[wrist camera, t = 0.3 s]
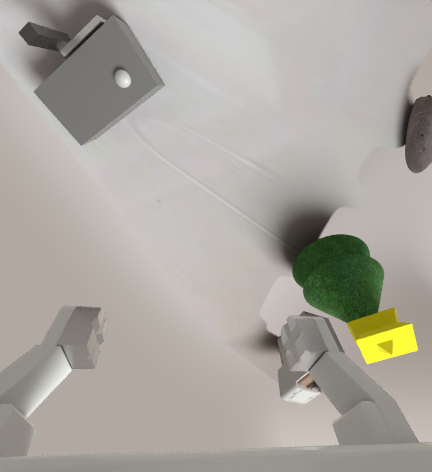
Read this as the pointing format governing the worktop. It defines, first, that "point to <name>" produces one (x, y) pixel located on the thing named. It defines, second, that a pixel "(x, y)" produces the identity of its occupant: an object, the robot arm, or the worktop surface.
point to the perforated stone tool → (419, 135)
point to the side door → (59, 36)
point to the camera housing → (100, 82)
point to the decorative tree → (352, 294)
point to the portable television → (299, 374)
